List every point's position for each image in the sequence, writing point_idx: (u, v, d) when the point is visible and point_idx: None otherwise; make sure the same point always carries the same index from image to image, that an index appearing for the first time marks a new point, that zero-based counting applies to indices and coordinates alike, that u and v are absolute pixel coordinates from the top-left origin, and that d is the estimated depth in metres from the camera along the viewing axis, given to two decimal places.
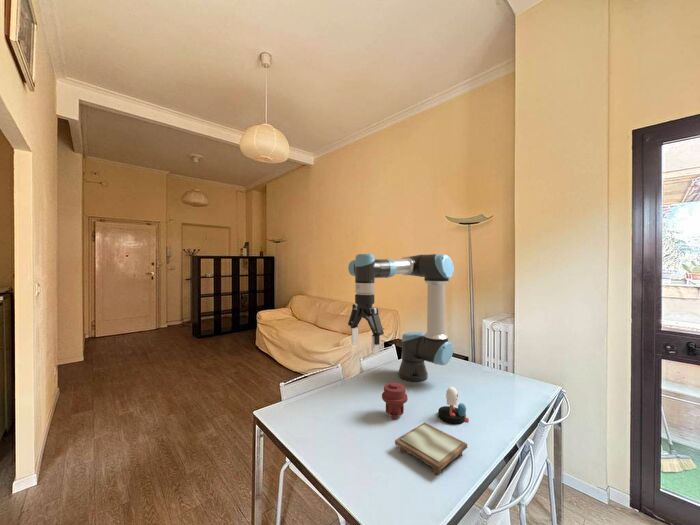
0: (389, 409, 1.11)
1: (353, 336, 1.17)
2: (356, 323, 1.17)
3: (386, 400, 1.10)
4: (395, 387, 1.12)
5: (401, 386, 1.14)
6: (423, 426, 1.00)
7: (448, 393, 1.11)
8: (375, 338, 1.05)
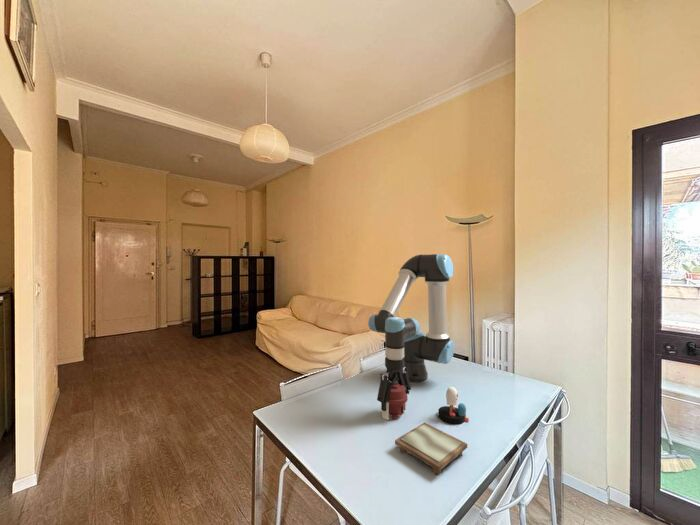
0: (389, 409, 1.11)
1: None
2: None
3: None
4: (395, 387, 1.12)
5: (401, 386, 1.14)
6: (423, 426, 1.00)
7: (448, 393, 1.11)
8: None
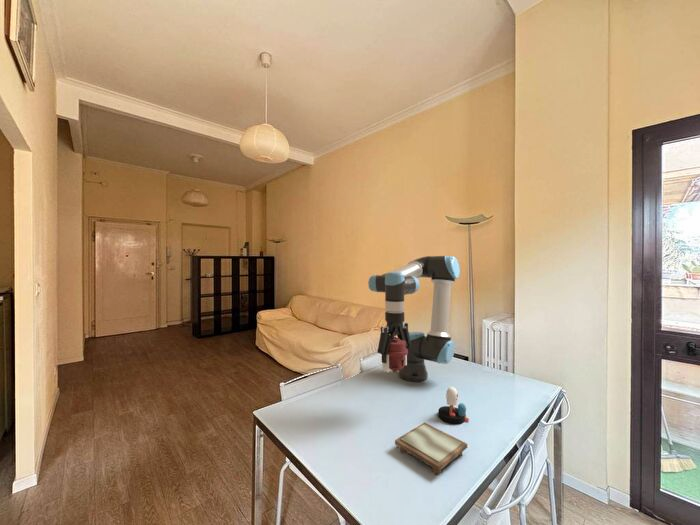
0: (389, 362, 1.11)
1: None
2: None
3: None
4: (395, 340, 1.12)
5: (401, 340, 1.14)
6: (423, 426, 1.00)
7: (448, 393, 1.11)
8: None
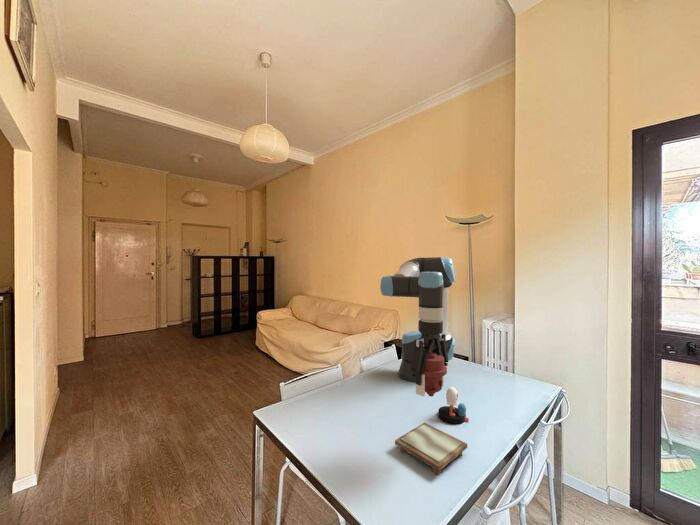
0: (425, 383, 0.89)
1: None
2: None
3: None
4: (432, 356, 0.90)
5: (438, 356, 0.92)
6: (423, 426, 1.00)
7: (448, 393, 1.11)
8: None
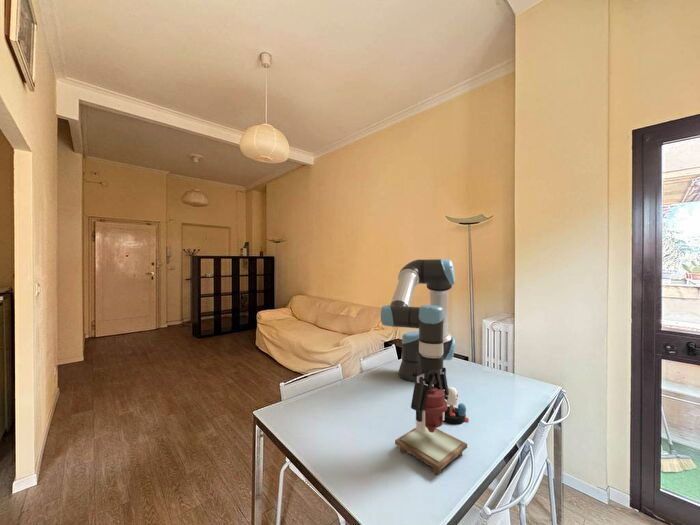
0: (425, 419, 0.89)
1: None
2: None
3: None
4: (432, 391, 0.90)
5: (439, 390, 0.92)
6: None
7: None
8: None
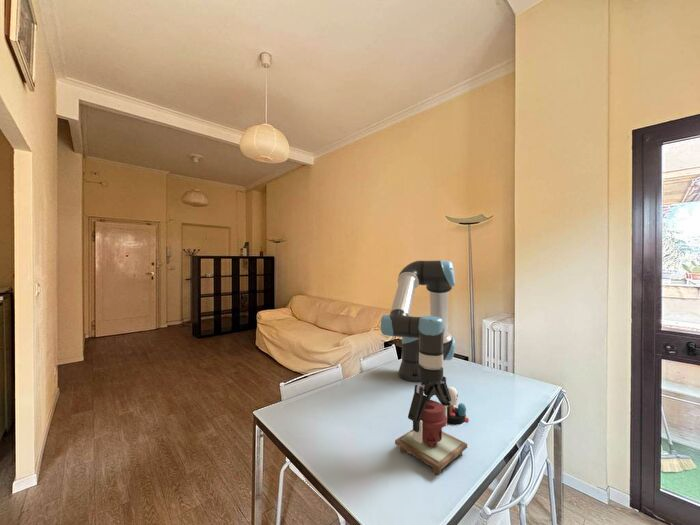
0: (424, 434, 0.89)
1: None
2: (440, 399, 0.95)
3: None
4: (432, 406, 0.90)
5: (438, 404, 0.92)
6: None
7: None
8: None
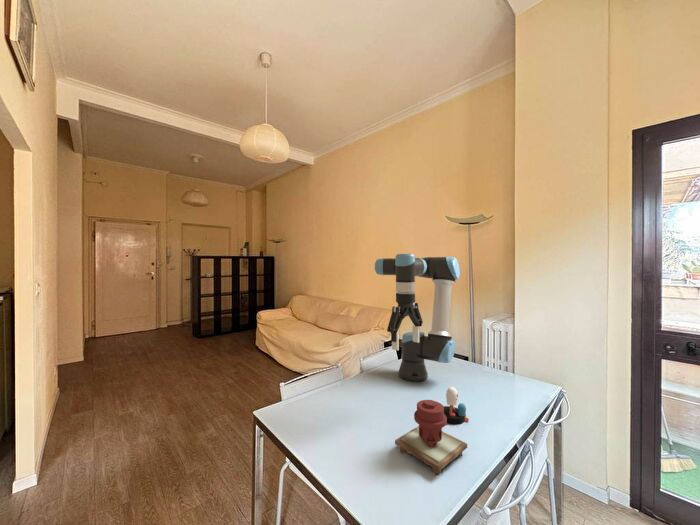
0: (424, 434, 0.89)
1: (413, 333, 1.19)
2: (414, 321, 1.18)
3: (421, 423, 0.88)
4: (432, 406, 0.90)
5: (438, 404, 0.92)
6: None
7: (448, 393, 1.11)
8: None
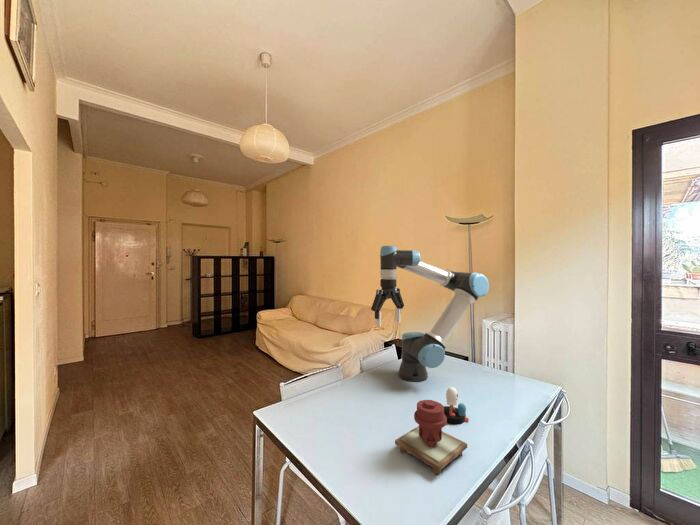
0: (424, 434, 0.89)
1: (395, 314, 1.40)
2: (396, 304, 1.39)
3: (421, 423, 0.88)
4: (432, 406, 0.90)
5: (438, 404, 0.92)
6: None
7: (448, 393, 1.11)
8: None
